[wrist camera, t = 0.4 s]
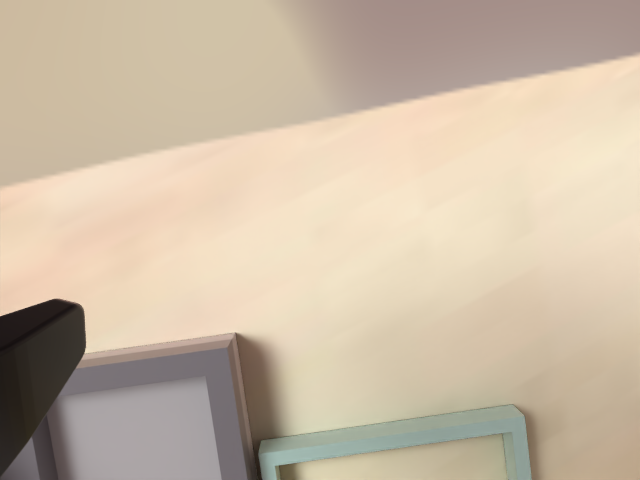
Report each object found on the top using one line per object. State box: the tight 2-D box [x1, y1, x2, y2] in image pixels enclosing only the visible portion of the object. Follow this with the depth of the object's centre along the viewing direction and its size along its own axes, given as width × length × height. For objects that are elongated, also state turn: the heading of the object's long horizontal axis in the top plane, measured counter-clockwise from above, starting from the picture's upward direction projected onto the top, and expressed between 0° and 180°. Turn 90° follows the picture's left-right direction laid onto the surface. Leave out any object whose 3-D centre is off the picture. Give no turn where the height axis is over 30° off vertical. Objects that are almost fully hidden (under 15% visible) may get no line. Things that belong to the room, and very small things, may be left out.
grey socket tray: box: [0, 333, 258, 480], centre depth 20 cm, size 9×18×2 cm, turn 98°
